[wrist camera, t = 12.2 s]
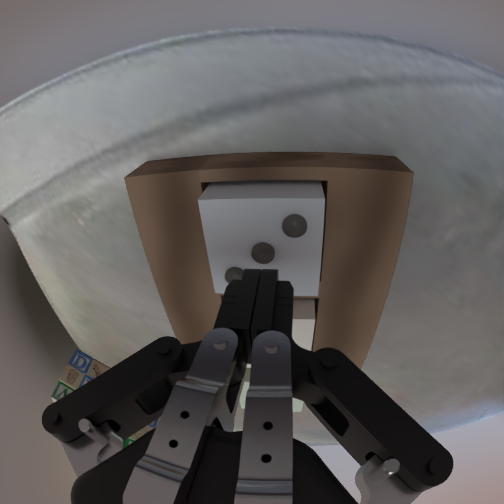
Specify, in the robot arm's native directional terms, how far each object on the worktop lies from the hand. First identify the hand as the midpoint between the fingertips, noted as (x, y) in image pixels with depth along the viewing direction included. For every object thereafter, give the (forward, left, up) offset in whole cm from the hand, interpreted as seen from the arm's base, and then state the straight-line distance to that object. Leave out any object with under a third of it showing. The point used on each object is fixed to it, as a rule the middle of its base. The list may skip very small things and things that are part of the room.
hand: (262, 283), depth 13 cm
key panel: (0, +8, -7) cm, 10 cm away
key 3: (0, 0, -5) cm, 5 cm away
